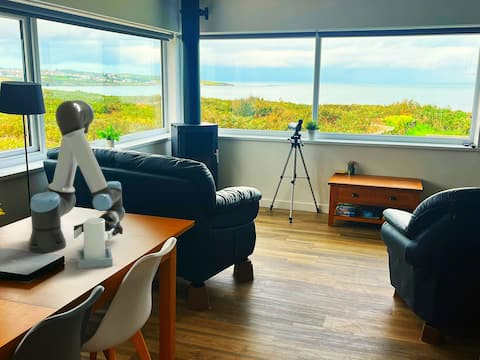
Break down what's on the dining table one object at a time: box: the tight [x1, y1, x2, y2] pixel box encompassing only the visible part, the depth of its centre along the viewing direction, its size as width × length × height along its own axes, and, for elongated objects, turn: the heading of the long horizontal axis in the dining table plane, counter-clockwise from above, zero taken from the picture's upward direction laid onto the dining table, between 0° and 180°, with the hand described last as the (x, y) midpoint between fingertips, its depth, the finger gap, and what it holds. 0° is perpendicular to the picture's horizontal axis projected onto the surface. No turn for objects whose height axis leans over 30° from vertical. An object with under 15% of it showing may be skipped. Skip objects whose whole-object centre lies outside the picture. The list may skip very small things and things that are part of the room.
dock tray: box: [77, 247, 114, 269], centre depth 188 cm, size 13×13×3 cm
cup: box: [82, 217, 106, 260], centre depth 187 cm, size 8×8×16 cm
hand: (91, 235), depth 184 cm, fingers open, 13 cm apart
